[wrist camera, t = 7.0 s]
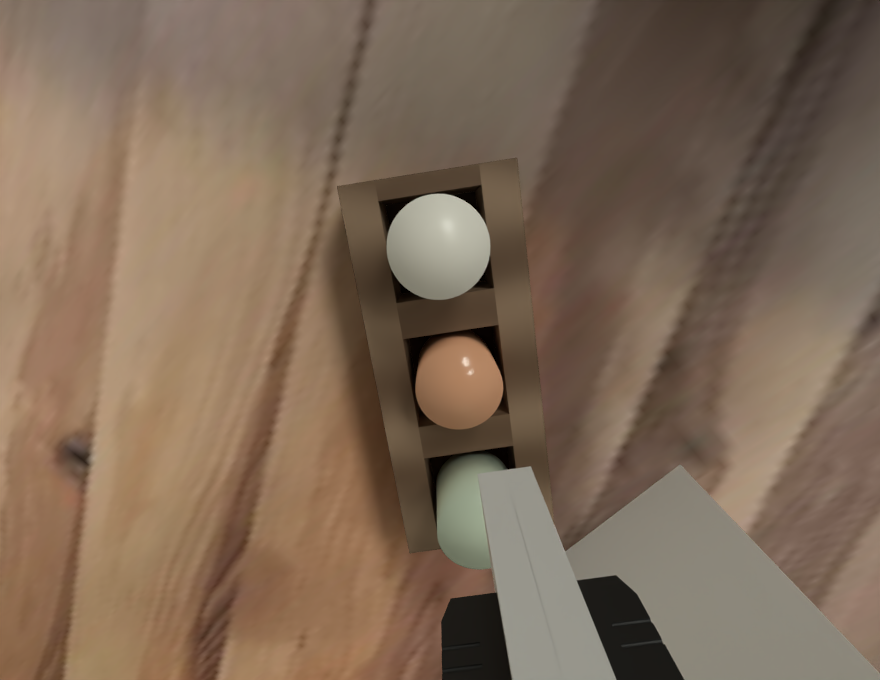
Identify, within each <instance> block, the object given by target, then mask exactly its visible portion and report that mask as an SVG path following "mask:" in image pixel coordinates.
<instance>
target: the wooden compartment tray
mask: <svg viewBox="0 0 880 680" xmlns="http://www.w3.org/2000/svg"><path fill="white" fill-rule="evenodd" d="M337 189H338V194H339V199H340V204H341V209H342V214H343V220H344V225H345V230H346V235H347V240H348V245H349V250H350V255H351V260H352V265H353V270H354V275H355V280H356V285H357V290H358V295H359V300H360V305H361V310H362V315H363V320H364V325H365V331H366V336H367V341H368V346H369V351H370V356H371V361H372V366H373V371H374V376H375V381H376V386H377V391H378V396H379V401H380V406H381V411H382V416H383V421H384V426H385V431H386V436H387V442H388V447H389V452H390V457H391V462H392V467H393V472H394V477H395V482H396V487H397V492H398V497H399V502H400V507H401V512H402V517H403V522H404V527H405V532H406V537H407V542H408V547H409V553H415V552H422V551H430V550H437V549H441V547H440V545H439V542H438V538H437V497H436V491H435V485H434V479H433V474H432V468H431V462H430V458H431V457H438V456H445V455H452V454H459V453H466V452H473V451H479V450H486V449H493V448H500V447H507V451H508V459H509V467H510V469H515V468H522V467H530V466H531V468H532V471H533V473H534V476H535V478H536V481H537V483H538V486H539V488H540V491H541V493H542V496H543V498H544V500H545V503H546V505H547V508H548V510H549V513H550V515H551V518H552V520H553V523H554V515H553V506H552V496H551V486H550V476H549V466H548V456H547V447H546V437H545V427H544V417H543V407H542V397H541V387H540V378H539V368H538V358H537V348H536V338H535V328H534V319H533V309H532V299H531V289H530V279H529V269H528V259H527V250H526V240H525V230H524V220H523V210H522V200H521V190H520V181H519V171H518V161H517V158H512V159H505V160H499V161H493V162H487V163H480V164H474V165H468V166H462V167H455V168H449V169H443V170H437V171H430V172H424V173H418V174H411V175H405V176H399V177H393V178H386V179H380V180H374V181H368V182H361V183H355V184H349V185H343V186H337ZM474 191H475V196H476V204H477V212H478V213H479V214H480V216H481V217H482V219H483V220H484V222H485V224H486V227H487V229H488V233H489V237H490V256H489V261H488V264H487V267H486V269H485V276H486V281H483V282H477V283H476V284H475V285H474V286H473V287H472V288H471V289H469V290H468V291H466V292H465V293H463V294H461V295H459V296H457V297H454V298H450V299H445V300H432V299H426V298H423V297H420V296H418V295H416V294H414V293H412V292H411V293H405V294H401V290H400V284H399V281H398V279H397V278H396V277H395V275H394V273H393V271H392V270H391V267H390V265H389V261H388V257H387V250H386V249H387V236H388V232H389V229H390V227H389V221H388V215H387V209H386V205H392V204H398V203H405V202H411V201H413V200H415V199H417V198H419V197H422V196H425V195H429V194H447V195H455V194H462V193H468V192H474ZM487 326H492V332H493V340H494V348H495V356H496V363H497V367H498V369H499V371H500V373H501V376H502V381H503V394H502V399H501V402H500V404H499V406H498V408H497V409H496V411H495V412H494V414H493V415H492V416H491V417H490V418H488V419H487V420H486V421H485V422H483V423H481V424H480V425H477V426H475V427H472V428H468V429H460V430H458V429H449V428H445V427H442V426H440V425H438V424H436V423H434V422H433V421H431V420H430V419H429V418H428V417H427V416H426V415H425V414H424V413H423V411H422V410H421V408H420V406H419V404H418V401H417V398H416V391H415V387H416V376H415V370H414V364H413V359H412V353H411V347H410V341H409V338H415V337H421V336H428V335H434V334H441V333H448V332H454V331H461V330H468V329H474V328H481V327H487Z"/></svg>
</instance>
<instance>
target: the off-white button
mask: <svg viewBox="0 0 880 680" xmlns="http://www.w3.org/2000/svg"><path fill="white" fill-rule="evenodd" d="M386 250H387V257H388V261H389V265H390V267H391V270H392V271H393V273H394V275H395V277H396V278H397V279H398V281H399V282H400V283H401V284H402V285H403V286H404V287H405V288H406V289H408V290H409V291H410V292H412V293H414V294H416V295H418V296H420V297H423V298H426V299H432V300H445V299H450V298H454V297H457V296H459V295H461V294H463V293H465V292H466V291H468V290H469V289H471V288H472V287H473V286H474V285H475V284H476V283H477V282H478V281H479V279H480V278H481V276H482V275H483V273H484V271H485V269H486V267H487V264H488V261H489V256H490V237H489V233H488V229H487V227H486V224H485V222H484V220H483V219H482V217H481V216H480V214H479V213H478V212H477V211H476V210H475V209H474V208H473V207H472V206H471V205H470V204H468V203H467V202H465V201H464V200H462V199H460V198H458V197H455V196H452V195H447V194H429V195H425V196H422V197H419V198H417V199H415V200H413V201H411V202H410V203H408V204H407V205H406V206H405V207H404V208H403V209H401V210H400V212H399V213H398V214H397V215H396V217H395V219H394V220H393V222H392V224H391V226H390V229H389V232H388V236H387V249H386Z"/></svg>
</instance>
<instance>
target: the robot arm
mask: <svg viewBox="0 0 880 680" xmlns="http://www.w3.org/2000/svg"><path fill="white" fill-rule="evenodd" d="M478 481H479V488H480V495H481V502H482V508H483V515H484V522H485V529H486V536H487V543H488V549H489V556H490V562H491V568H492V574H493V580H494V586H495V593H490V594H482V595H475V596H467V597H460V598H452V599H450V602H449V604H448V607H447V609H446V611H445V614H444V616H443V619H442V621H441V625H442V672H443V674H442V680H684V678H683V676H682V675H681V673H680V671H679V669H678V667H677V665H676V664H675V662H674V660H673V658H672V656H671V655H670V653H669V651H668V649H667V647H666V646H665V644H663V642H662V638H661V636H660V635H659V633H658V631H657V629H656V627H655V626H654V624H653V623H652V622H651V619H650V617H649V615H648V613H647V611H646V609H645V608H644V606H643V604H642V602H641V600H640V598H639V597H638V595H637V593H635V592H634V591H633V590H632V589H631V588H630V587H629V586H628V585H627V584H625V583H624V582H623V581H622V580H621V579H620V578H619V577H618V576H616V575H613V576H606V577H598V578H591V579H583V580H576V578H575V575H574V573H573V570H572V568H571V565H570V563H569V560H568V558H567V555H566V553H565V550H564V548H563V545H562V543H561V540H560V538H559V535H558V533H557V530H556V528H555V525H554V523H553V520H552V518H551V515H550V513H549V510H548V508H547V505H546V503H545V500H544V498H543V496H542V493H541V491H540V488H539V486H538V483H537V481H536V478H535V476H534V473H533V471H532V468H531V466H530V467H522V468H515V469H508V470H501V471H494V472H487V473H480V474H478Z"/></svg>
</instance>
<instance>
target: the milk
mask: <svg viewBox="0 0 880 680" xmlns="http://www.w3.org/2000/svg"><path fill="white" fill-rule="evenodd" d="M565 553H566V555H567V558H568V560H569V563H570V565H571V568H572V570H573V573H574V575H575V578H576V580H583V579H591V578H598V577H606V576H613V575H616V576H618V577H619V578H620V579H621V580H622V581H623V582H624V583H625V584H627V585H628V586H629V587H630V588H631V589H632V590H633V591H634V592H635V593H637V595H638V597H639V598H640V600H641V602H642V604H643V606H644V608H645V609H646V611H647V613H648V615H649V617H650V619H651V622H652V623H653V624H654V626H655V627H656V629H657V631H658V633H659V635H660V636H661V638H662V642H663V644H665V646H666V647H667V649H668V651H669V653H670V655H671V656H672V658H673V660H674V662H675V664H676V665H677V667H678V669H679V671H680V673H681V675H682V676H683V678H684V680H880V673H879V672H878V671H877V670H876V669H875V668H874V667H873V666H872V665H871V664H870V663H869V662H868V661H867V660H866V658H865V657H864V656H863V655H862V654H861V653H860V652H859V651H858V650H857V649H856V648H855V647H854V646H853V645H852V644H851V643H850V642H849V641H848V640H847V639H846V638H845V636H844V635H843V634H842V633H841V632H840V631H839V630H838V629H837V628H836V627H835V626H834V625H833V624H832V623H831V622H830V621H829V620H828V619H827V618H826V617H825V616H824V615H823V613H822V612H821V611H820V610H819V609H818V608H817V607H816V606H815V605H814V604H813V603H812V602H811V601H810V600H809V599H808V598H807V597H806V596H805V595H804V594H803V593H802V591H801V590H800V589H799V588H798V587H797V586H796V585H795V584H794V583H793V582H792V581H791V580H790V579H789V578H788V577H787V576H786V575H785V574H784V573H783V572H782V571H781V569H780V568H779V567H778V566H777V565H776V564H775V563H774V562H773V561H772V560H771V559H770V558H769V557H768V556H767V555H766V554H765V553H764V552H763V551H762V550H761V549H760V548H759V546H758V545H757V544H756V543H755V542H754V541H753V540H752V539H751V538H750V537H749V536H748V535H747V534H746V533H745V532H744V531H743V530H742V529H741V528H740V527H739V526H738V524H737V523H736V522H735V521H734V520H733V519H732V518H731V517H730V516H729V515H728V514H727V513H726V512H725V511H724V510H723V509H722V508H721V507H720V506H719V505H718V504H717V502H716V501H715V500H714V499H713V498H712V497H711V496H710V495H709V494H708V493H707V492H706V491H705V490H704V489H703V488H702V487H701V486H700V485H699V484H698V483H697V482H696V480H695V479H694V478H693V477H692V476H691V475H690V474H689V473H688V472H687V471H686V470H685V469H684V468H683V467H682V466H681V465H679V466H677V467H676V468H675V469H673V470H672V471H671V472H669V473H668V474H667V475H665V476H664V477H663V478H661V479H660V480H659V481H657V482H656V483H655V484H654V485H652V486H651V487H650V488H648V489H647V490H646V491H644V492H643V493H642V494H640V495H639V496H638V497H636V498H635V499H634V500H633V501H631V502H630V503H629V504H627V505H626V506H625V507H623V508H622V509H621V510H619V511H618V512H617V513H615V514H614V515H613V516H611V517H610V518H609V519H608V520H606V521H605V522H604V523H602V524H601V525H600V526H598V527H597V528H596V529H594V530H593V531H592V532H590V533H589V534H588V535H586V536H585V537H584V538H583V539H581V540H580V541H579V542H577V543H576V544H575V545H573V546H572V547H571V548H569V549H568V550H567V551H565Z"/></svg>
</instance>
